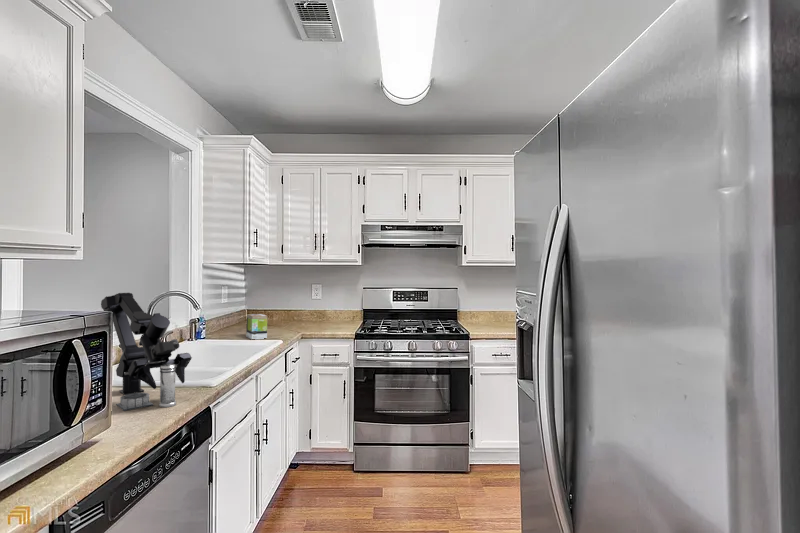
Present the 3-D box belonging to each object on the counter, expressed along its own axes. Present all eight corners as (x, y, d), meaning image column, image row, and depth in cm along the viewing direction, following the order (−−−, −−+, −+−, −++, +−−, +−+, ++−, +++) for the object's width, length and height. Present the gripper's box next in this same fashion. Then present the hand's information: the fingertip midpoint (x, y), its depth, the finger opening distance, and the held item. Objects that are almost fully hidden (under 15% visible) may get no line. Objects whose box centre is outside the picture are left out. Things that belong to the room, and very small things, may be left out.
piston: (156, 405, 156) (157, 365, 156) (172, 402, 160) (173, 363, 160) (162, 408, 152) (162, 367, 153) (178, 405, 156) (178, 365, 156)
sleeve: (116, 405, 156) (116, 395, 156) (145, 400, 162) (145, 391, 162) (124, 411, 150) (124, 401, 150) (153, 405, 156) (153, 396, 156)
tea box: (267, 338, 300) (267, 315, 300) (251, 340, 295) (251, 316, 295) (261, 335, 313) (261, 313, 313) (245, 337, 308) (245, 313, 308)
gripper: (132, 335, 151) (148, 375, 144) (188, 329, 166) (206, 365, 159) (121, 357, 156) (136, 396, 149) (177, 349, 171) (193, 385, 164)
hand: (169, 385), depth 155 cm, fingers open, 9 cm apart
